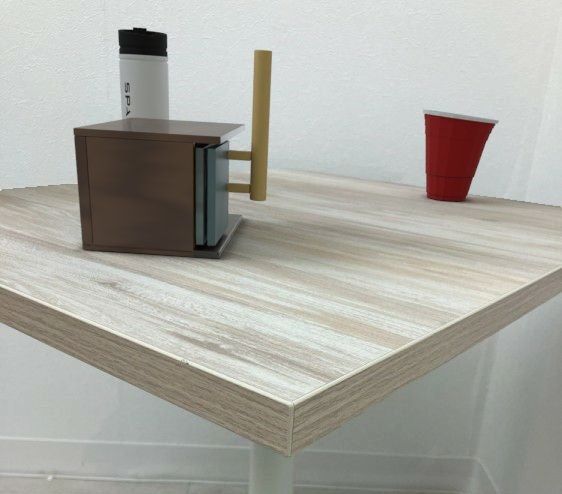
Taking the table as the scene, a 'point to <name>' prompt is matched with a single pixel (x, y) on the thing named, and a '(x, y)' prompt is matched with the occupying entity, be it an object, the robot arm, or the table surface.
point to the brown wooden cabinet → (149, 186)
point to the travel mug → (143, 74)
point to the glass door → (241, 155)
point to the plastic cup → (453, 152)
